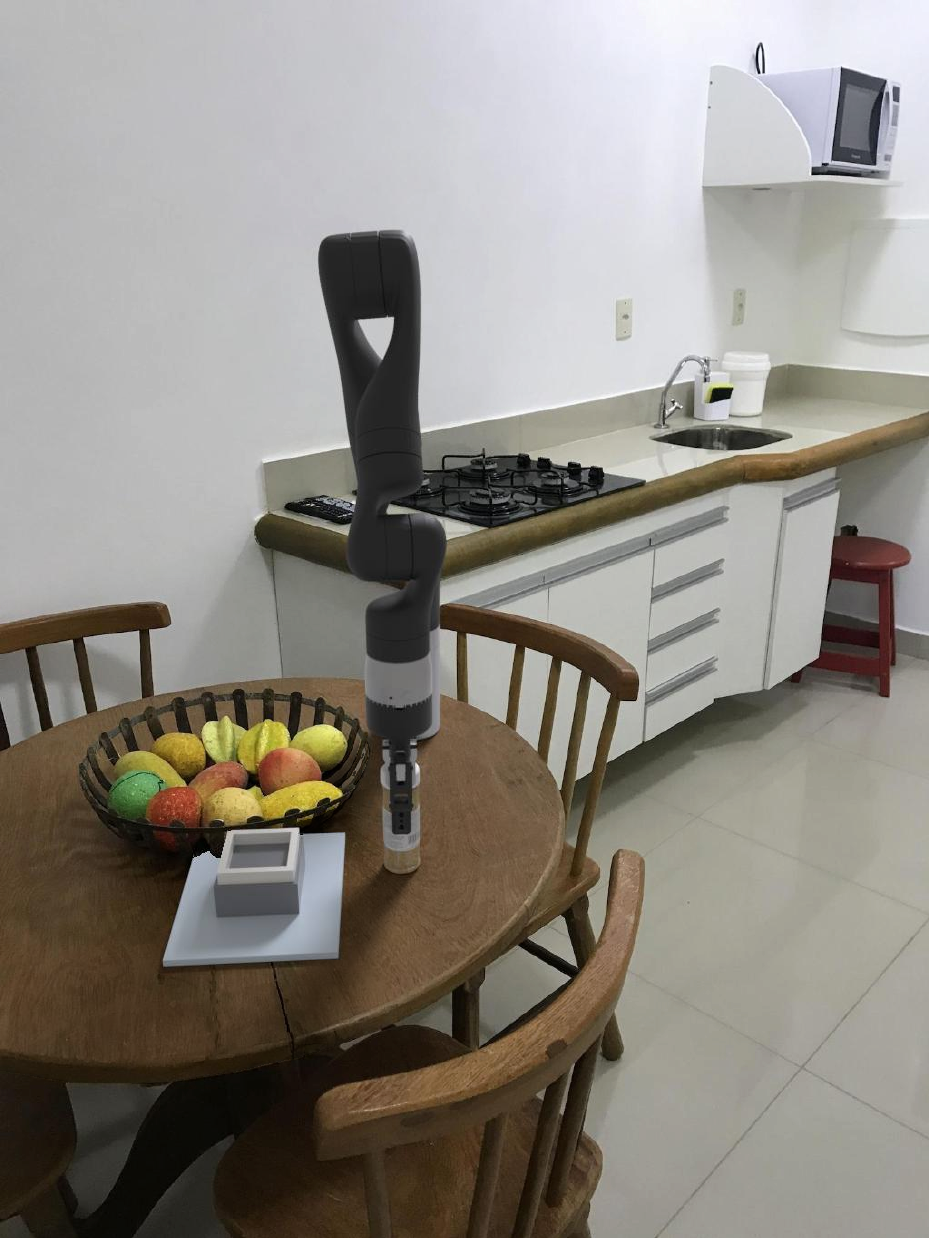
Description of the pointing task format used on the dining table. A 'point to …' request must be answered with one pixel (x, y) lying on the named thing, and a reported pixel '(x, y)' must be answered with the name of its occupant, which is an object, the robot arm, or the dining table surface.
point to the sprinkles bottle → (403, 847)
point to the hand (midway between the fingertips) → (400, 813)
